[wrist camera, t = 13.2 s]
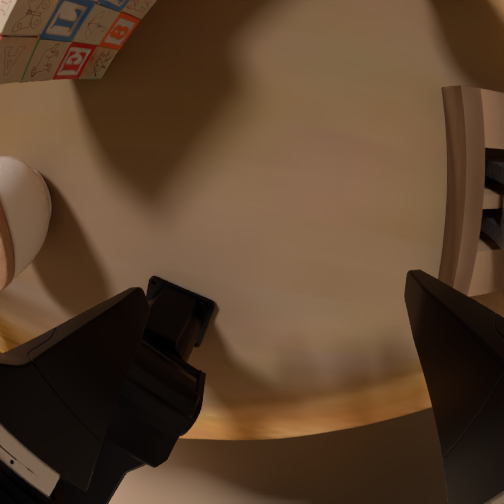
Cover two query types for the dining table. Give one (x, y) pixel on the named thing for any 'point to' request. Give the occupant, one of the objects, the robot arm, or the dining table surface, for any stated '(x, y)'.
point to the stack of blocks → (64, 37)
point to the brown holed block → (471, 190)
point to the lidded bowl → (21, 216)
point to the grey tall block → (494, 220)
